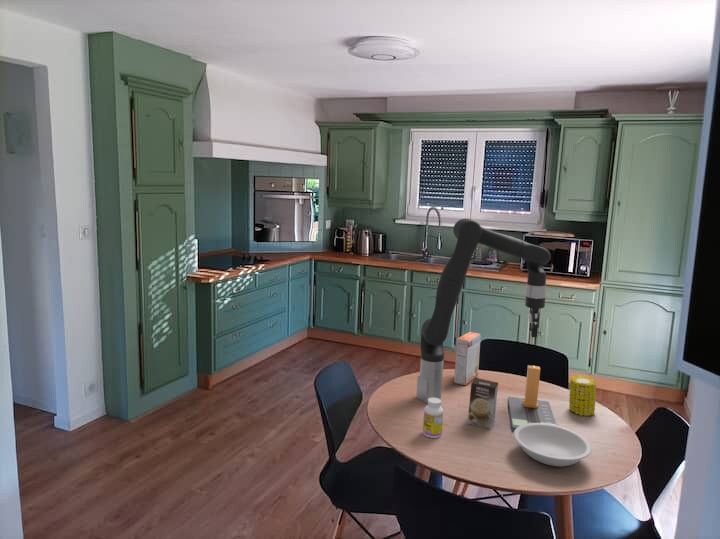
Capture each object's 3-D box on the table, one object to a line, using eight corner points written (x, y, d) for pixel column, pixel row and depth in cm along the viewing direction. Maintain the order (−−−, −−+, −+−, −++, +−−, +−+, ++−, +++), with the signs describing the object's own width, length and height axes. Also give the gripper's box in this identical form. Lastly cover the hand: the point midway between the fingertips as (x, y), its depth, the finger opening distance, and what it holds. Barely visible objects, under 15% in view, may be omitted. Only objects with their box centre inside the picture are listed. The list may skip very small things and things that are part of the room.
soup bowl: (512, 470, 163) (514, 451, 161) (511, 435, 185) (513, 418, 184) (595, 485, 156) (597, 465, 155) (583, 447, 179) (585, 429, 178)
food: (598, 418, 205) (577, 422, 202) (578, 400, 215) (558, 403, 212) (608, 386, 199) (586, 390, 196) (587, 369, 209) (566, 372, 206)
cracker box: (466, 374, 243) (469, 330, 239) (478, 377, 239) (481, 333, 235) (452, 382, 231) (456, 337, 228) (465, 386, 228) (469, 340, 224)
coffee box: (466, 423, 193) (470, 382, 190) (470, 416, 198) (474, 377, 196) (491, 429, 189) (495, 387, 186) (495, 422, 195) (498, 381, 192)
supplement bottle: (419, 431, 185) (421, 397, 183) (435, 428, 188) (438, 395, 186) (428, 440, 179) (430, 405, 177) (445, 437, 182) (447, 402, 179)
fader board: (558, 437, 185) (560, 428, 184) (512, 431, 188) (513, 422, 188) (548, 405, 212) (549, 396, 211) (507, 400, 215) (508, 392, 215)
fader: (538, 408, 204) (542, 369, 201) (523, 406, 205) (527, 367, 202) (536, 403, 208) (540, 365, 205) (522, 402, 209) (526, 364, 206)
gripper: (524, 291, 218) (522, 328, 221) (527, 298, 204) (524, 338, 207) (543, 292, 216) (540, 329, 219) (547, 300, 203) (544, 339, 206)
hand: (532, 333), depth 213 cm, fingers open, 8 cm apart
